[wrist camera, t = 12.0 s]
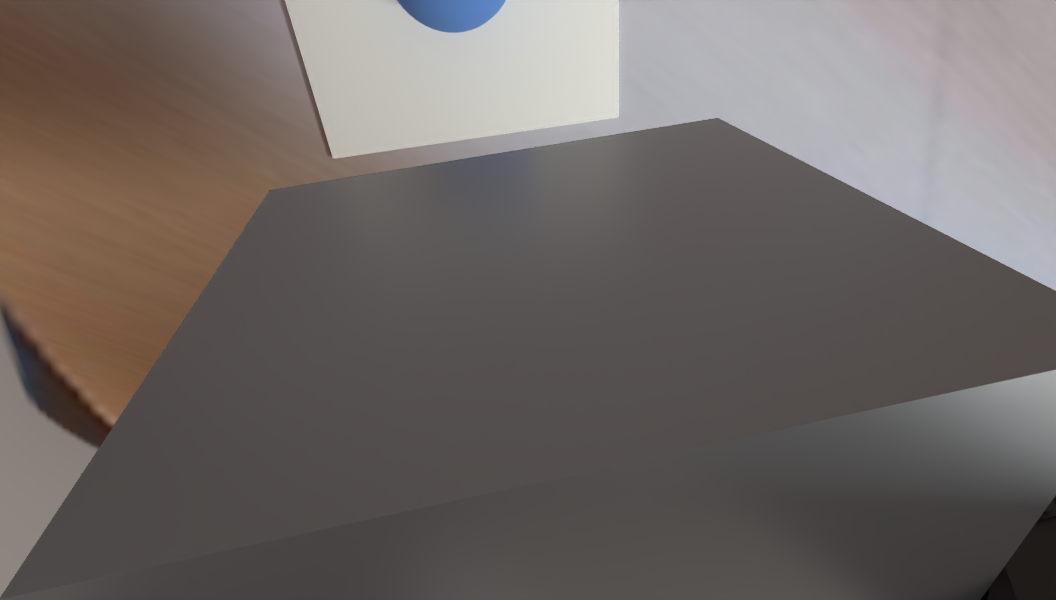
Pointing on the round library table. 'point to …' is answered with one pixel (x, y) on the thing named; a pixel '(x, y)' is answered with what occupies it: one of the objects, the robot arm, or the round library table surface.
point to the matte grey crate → (578, 394)
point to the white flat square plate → (455, 71)
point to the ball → (452, 13)
